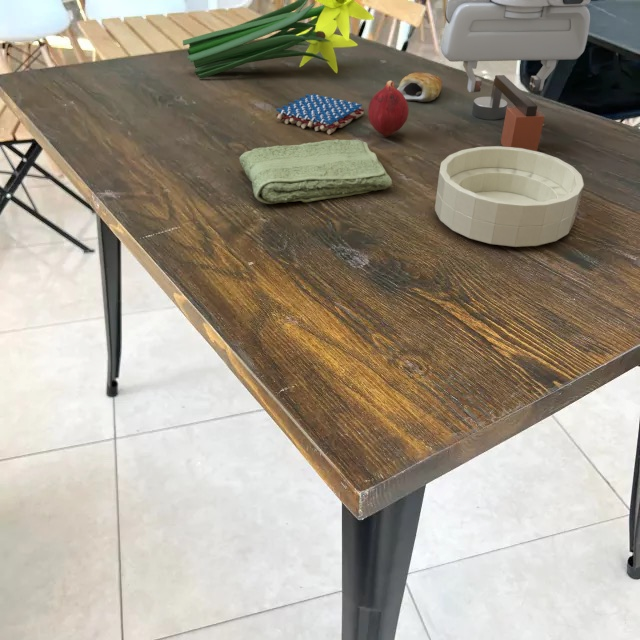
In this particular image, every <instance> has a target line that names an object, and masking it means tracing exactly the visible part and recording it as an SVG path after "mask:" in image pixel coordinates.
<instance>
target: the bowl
mask: <svg viewBox="0 0 640 640" xmlns="http://www.w3.org/2000/svg"><path fill="white" fill-rule="evenodd" d="M439 167H440V168H439V172H438V179H437V180H438V181H437V189H436V196H435V204H434V211H435V213H436V215H437V217H438V219H439V221H440V222H441V223H443V224H444V225H445V226H446V227H448V228H449V229H450V230H451V231H453V232H455V233H457V234H458V235H459V234H460V235H462V236H464V237H466V238H467V239H471V240H474V241H478V242H482V243H486V244H489V245H497V246H506V247H513V248H514V247H515V248H517V247H519V248H521V247H537V246H542V245H545V244H549V243H553V242H557V241H558V240H560V239H563V237H565V236H567V235H568V234H570V232H571V230H572V228H573V226H574V224H575V220H576V217H577V214H578V209H579V205H580V202H581V199H582V195H583V191H584V187H585V183H584V178H583V176H582V174H581V173H580V172H579V171H578V170H577V169H576V168H575V167H574V166H573V165H571V164H569V163H567V162H565V161H564V160H562V159H560V158H558V157H555V156H552V155H550V154H547V153H545V152H540V151H538V150H537V151H532V150H527V149H522V148H513V147H503V146H502V145H500V146H499V145H496V146H494V145H493V146H492V145H491V146H477V147H472V148H471V147H470V148H466V149H461V150H459V151H456V152H454V153H451V154H449V155H448V156H446V158H445V159H443V160H442V161H441V162H440V166H439Z"/></svg>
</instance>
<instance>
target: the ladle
mask: <svg viewBox="0 0 640 640" xmlns="http://www.w3.org/2000/svg"><path fill="white" fill-rule="evenodd" d="M492 82H493V83H492V89H491V93H490V94H491V95H490V96H480V97H476V98H475V99H474V100H473V104H472V111H471V114H472V116H474V117H476V118H478V119H481V120H488V121H494V120H495V121H497V120H501V119H505V115H506V110H507V107H508V101H506V100H505V99H503V98H502V94H503V95H504V96H505V97H506V98H507V100H509V101H510V102H511V103H512V104H513V106H514V107H517V108H518V109H519V110H520V111H521V112H522V113H523V114H524V115H525V116H536V112H537V109H538V105H537V104H536V103H535V102H534V101H532V100H531V98H530V97H528V95H526V94H525V93H524V92H523V91H522V90H521V89H520V88H519V87H517V85H515V84H514V83H513V82H512V81H511V80H510V78H508V77H507V76H506V75H504V74H496V75H494V78H493V81H492Z"/></svg>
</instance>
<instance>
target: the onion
mask: <svg viewBox="0 0 640 640" xmlns="http://www.w3.org/2000/svg"><path fill="white" fill-rule="evenodd" d="M409 110H410V109H409V104H408V101H407V100H406V99H405V97H404V96H403V94H402V93H401V92H400V91H399V90H397V88H396V87H395V82H394V81H392V80H388V81H386V84H385V86H384V87H383V88H381V89H379V90H378V91H377V92H376V93H375V94H374V95H373V96H372V97H371V99H370V101H369V104H368V109H367V116H368V120H369V123H370V124H371V126H372V127H373V129H374V130H375V131H376V132H378V133H379V134H381V135H382V137H387V138H388V137H390V136H391V135H393V134H395V133H396V132H398V131H399V130H401V129H402V127H403V126H404V125H405V123H406V122H407V120H408V117H409Z"/></svg>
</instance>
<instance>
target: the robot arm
mask: <svg viewBox="0 0 640 640" xmlns="http://www.w3.org/2000/svg"><path fill="white" fill-rule="evenodd" d="M590 3H591V0H446V3H445V10H444V17H445V20H446V21H445V24H444V28H443V32H442V37H441V42H440V43H441V44H440V51H441V53H442V55H443V56H444V58H446V60H447V61H448V62H455V63H456V62H462V66H463V69H464V71H465V73H466V75H467V78H468V81H467V91H468V92H469V93H480V92H481V86H482V82H483V80H482V79H481V77H479V76H476V75H475V72H474V70H476V69H477V67H478V63H479V62H499V61H500V62H502V61H504V62H506V61H507V62H508V61H510V62H511V61H513V62H514V61H540V63H541V64H542V67H541V68H540V69H539V70H538V72H537V73H536V75H531V76H530V79H529V84H528V89H529V90H530V91H531V92H542V91H543V89H544V85H545V81H546V79H548V77H549V76H550V75H551V73H552V72H553V71H554V70H555V68H556V65H557V61H561V60H563V61H565V60H577V59H579V58H580V57H581V55H583V53H584V52H585V49H586V46H587V42H588V37H589V30H590V23H591V14H590V10H589V8H588V7H587V5H589V4H590Z"/></svg>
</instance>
